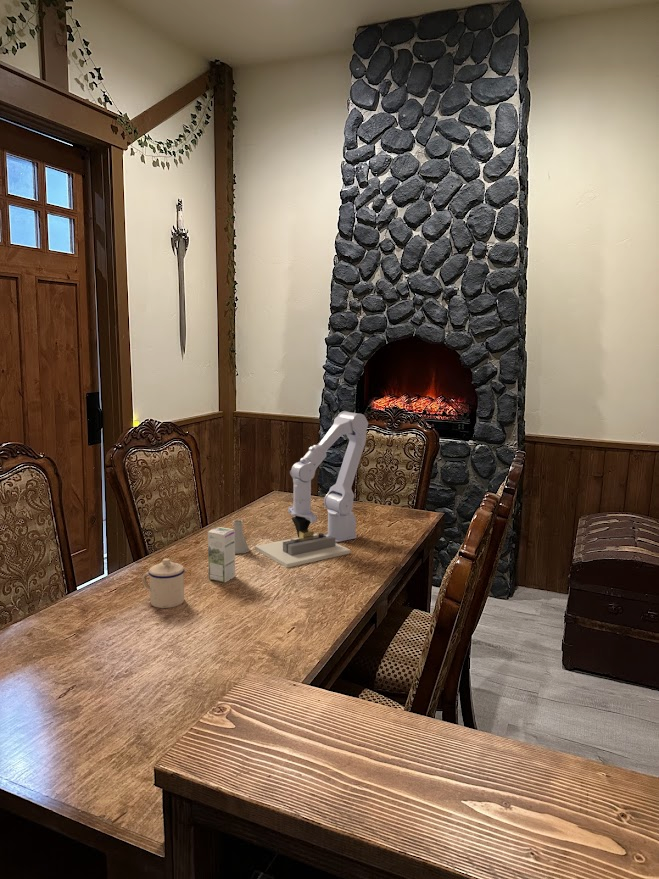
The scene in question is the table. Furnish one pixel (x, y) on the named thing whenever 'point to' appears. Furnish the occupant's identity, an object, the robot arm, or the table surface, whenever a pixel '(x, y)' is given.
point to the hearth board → (299, 558)
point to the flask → (239, 538)
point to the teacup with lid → (165, 584)
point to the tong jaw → (285, 544)
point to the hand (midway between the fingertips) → (301, 538)
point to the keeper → (306, 533)
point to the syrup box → (221, 554)
